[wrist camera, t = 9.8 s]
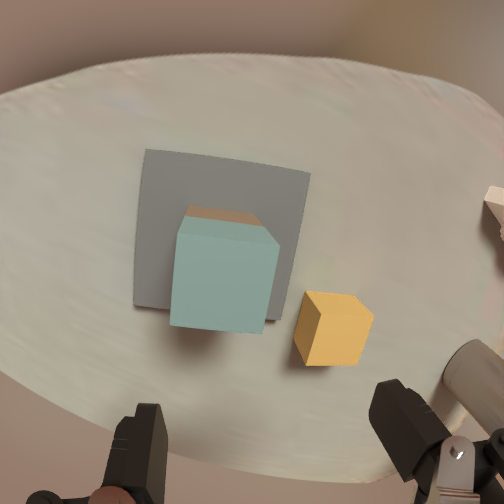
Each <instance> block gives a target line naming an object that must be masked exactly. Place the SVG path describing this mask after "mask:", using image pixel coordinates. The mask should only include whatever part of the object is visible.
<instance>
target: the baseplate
mask: <svg viewBox="0 0 504 504" xmlns="http://www.w3.org/2000/svg"><path fill="white" fill-rule="evenodd" d="M310 175H311V173H308V172H303V171H298V170H292V169H287V168H282V167H276V166H271V165H265V164H259V163H253V162H247V161H240V160H234V159H227V158H220V157H213V156H205V155H198V154H190V153H181V152H172V151H163V150H152V149H146V150H145V157H144V164H143V172H142V180H141V189H140V199H139V209H138V220H137V233H136V248H135V268H134V305H137V306H145V307H152V308H160V309H168V310H171V297H172V284H173V273H174V262H175V252H176V242H177V233H178V231H179V228H180V226H181V223H182V221H183V219H184V216H190V217H197V218H205V219H213V220H221V221H228V222H235V223H243V224H250V225H257V226H264V227H265V228H266V229H267V230H268V232H269V233H270V234H271V235H272V237H273V238H274V239H275V240H276V242H277V243H278V244H279V245H280V250H279V255H278V260H277V265H276V270H275V275H274V280H273V285H272V289H271V294H270V299H269V304H268V309H267V313H266V318H265V319H269V320H281V316H282V312H283V307H284V303H285V298H286V294H287V289H288V285H289V280H290V276H291V271H292V266H293V261H294V257H295V252H296V247H297V242H298V237H299V232H300V227H301V222H302V217H303V212H304V207H305V202H306V196H307V191H308V186H309V180H310Z"/></svg>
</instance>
